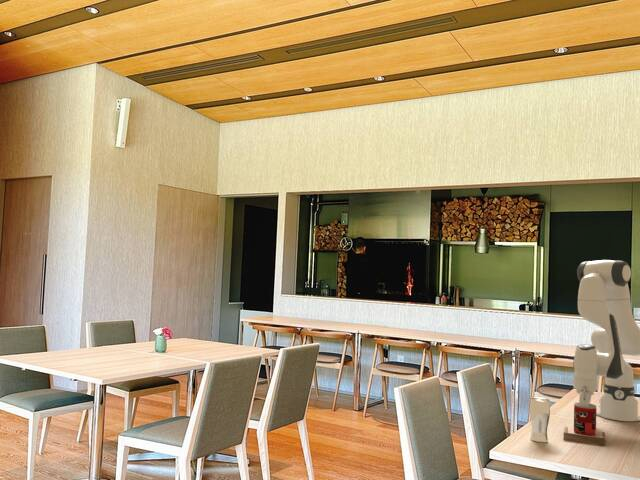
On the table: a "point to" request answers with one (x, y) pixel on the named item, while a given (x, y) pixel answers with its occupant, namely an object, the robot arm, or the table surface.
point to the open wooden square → (584, 438)
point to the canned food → (585, 419)
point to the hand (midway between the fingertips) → (584, 419)
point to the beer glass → (539, 418)
